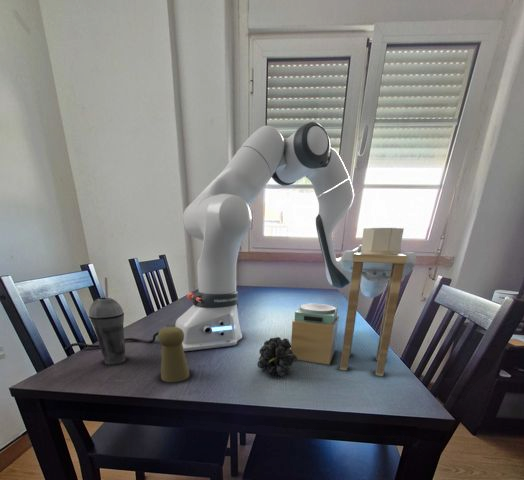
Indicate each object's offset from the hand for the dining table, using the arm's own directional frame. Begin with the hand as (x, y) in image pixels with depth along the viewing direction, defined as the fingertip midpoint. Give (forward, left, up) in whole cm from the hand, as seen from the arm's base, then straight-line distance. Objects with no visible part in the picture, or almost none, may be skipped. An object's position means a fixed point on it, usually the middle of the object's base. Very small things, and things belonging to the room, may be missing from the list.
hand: (379, 247), depth 77 cm
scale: (-21, 0, -27) cm, 35 cm away
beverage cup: (-67, +22, -27) cm, 75 cm away
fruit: (-35, -2, -27) cm, 44 cm away
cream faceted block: (-10, -7, -1) cm, 12 cm away
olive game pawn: (-57, +6, -27) cm, 63 cm away
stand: (-15, -11, -27) cm, 33 cm away
